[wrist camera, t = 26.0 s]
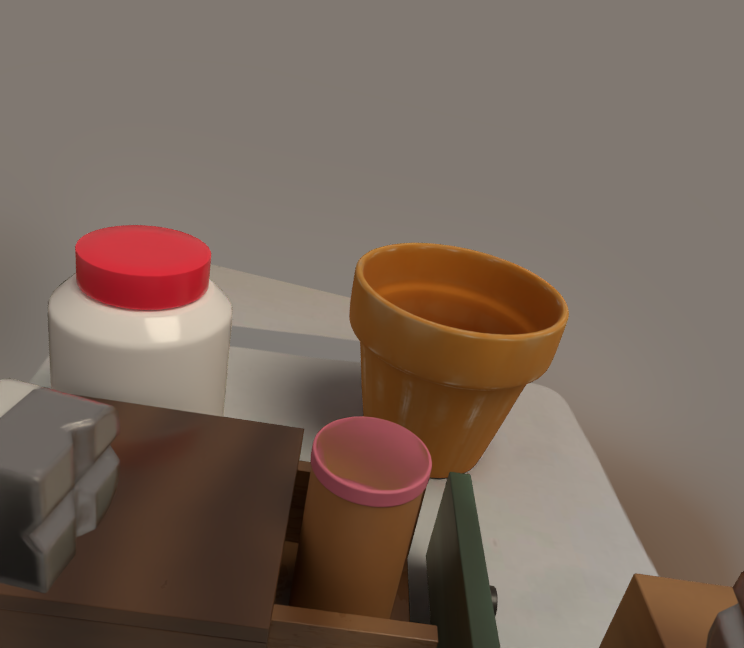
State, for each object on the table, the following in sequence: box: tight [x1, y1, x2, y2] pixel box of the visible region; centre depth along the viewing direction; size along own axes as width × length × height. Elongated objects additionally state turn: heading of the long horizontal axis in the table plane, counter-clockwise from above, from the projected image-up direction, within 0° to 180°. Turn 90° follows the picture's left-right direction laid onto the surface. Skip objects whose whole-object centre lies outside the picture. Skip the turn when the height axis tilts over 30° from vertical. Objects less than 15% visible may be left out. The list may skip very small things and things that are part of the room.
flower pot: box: [349, 243, 569, 478], centre depth 49 cm, size 14×14×13 cm
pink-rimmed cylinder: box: [289, 417, 432, 619], centre depth 32 cm, size 5×5×10 cm
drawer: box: [267, 461, 500, 648], centre depth 33 cm, size 15×11×6 cm
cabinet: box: [0, 394, 304, 648], centre depth 33 cm, size 15×13×8 cm
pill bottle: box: [48, 225, 232, 417], centre depth 42 cm, size 10×10×14 cm
